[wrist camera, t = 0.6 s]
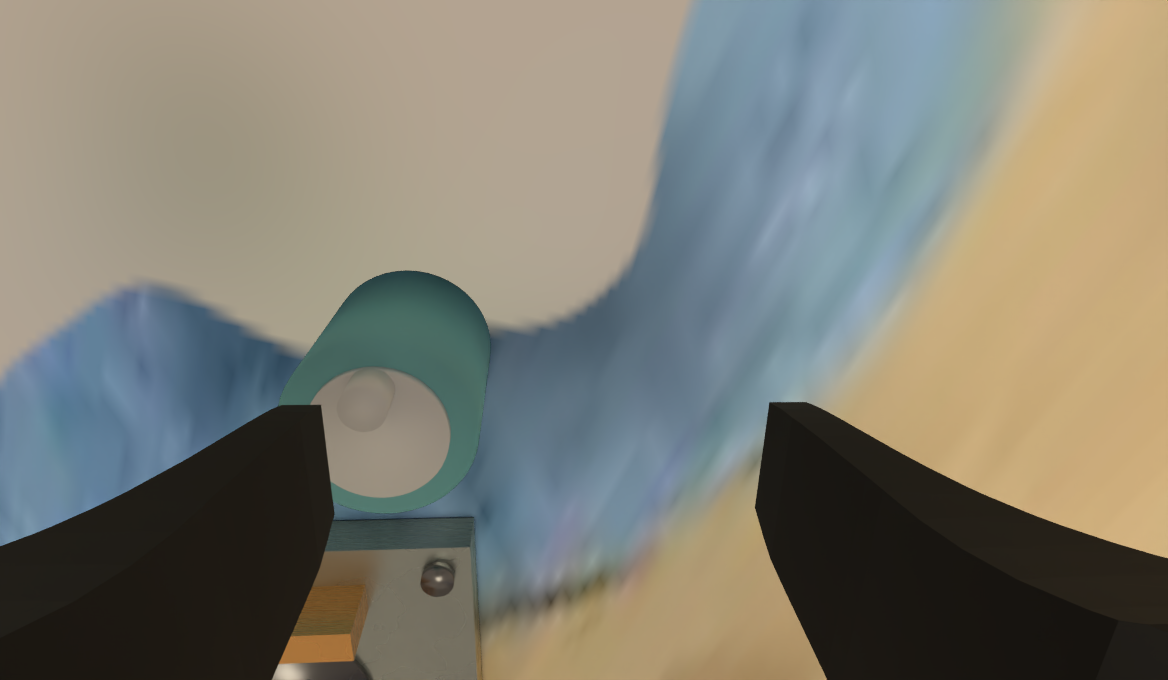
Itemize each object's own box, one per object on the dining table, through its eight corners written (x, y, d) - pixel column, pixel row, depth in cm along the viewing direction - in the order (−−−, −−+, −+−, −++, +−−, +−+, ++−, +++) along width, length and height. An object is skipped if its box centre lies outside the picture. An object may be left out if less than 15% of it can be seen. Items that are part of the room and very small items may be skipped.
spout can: (493, 412, 22) (479, 545, 16) (342, 415, 22) (273, 551, 16) (488, 269, 21) (470, 361, 15) (323, 271, 20) (240, 365, 14)
